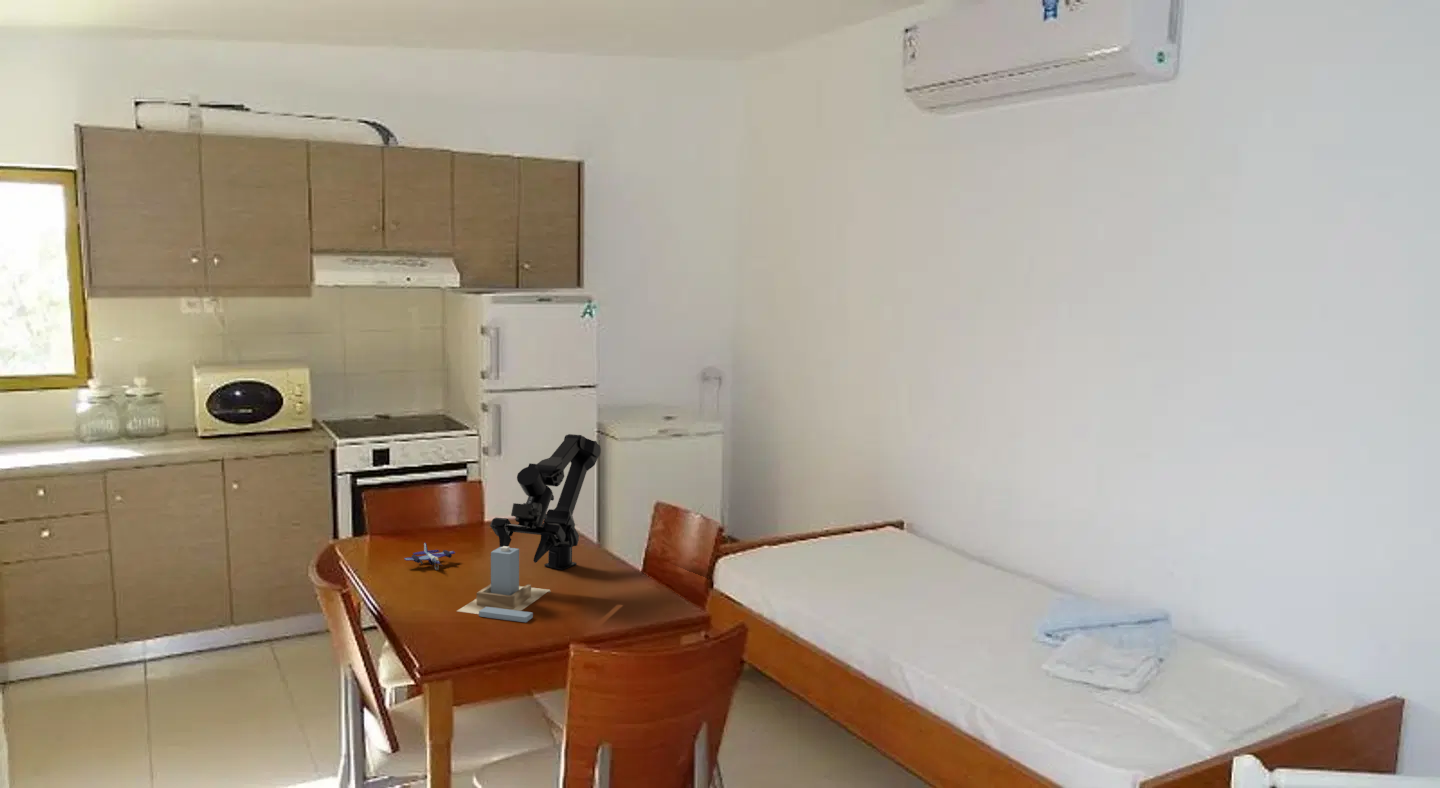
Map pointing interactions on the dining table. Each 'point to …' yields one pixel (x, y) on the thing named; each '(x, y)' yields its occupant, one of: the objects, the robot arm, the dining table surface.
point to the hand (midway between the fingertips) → (517, 559)
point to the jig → (504, 599)
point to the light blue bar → (505, 614)
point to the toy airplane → (430, 556)
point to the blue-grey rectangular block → (505, 570)
